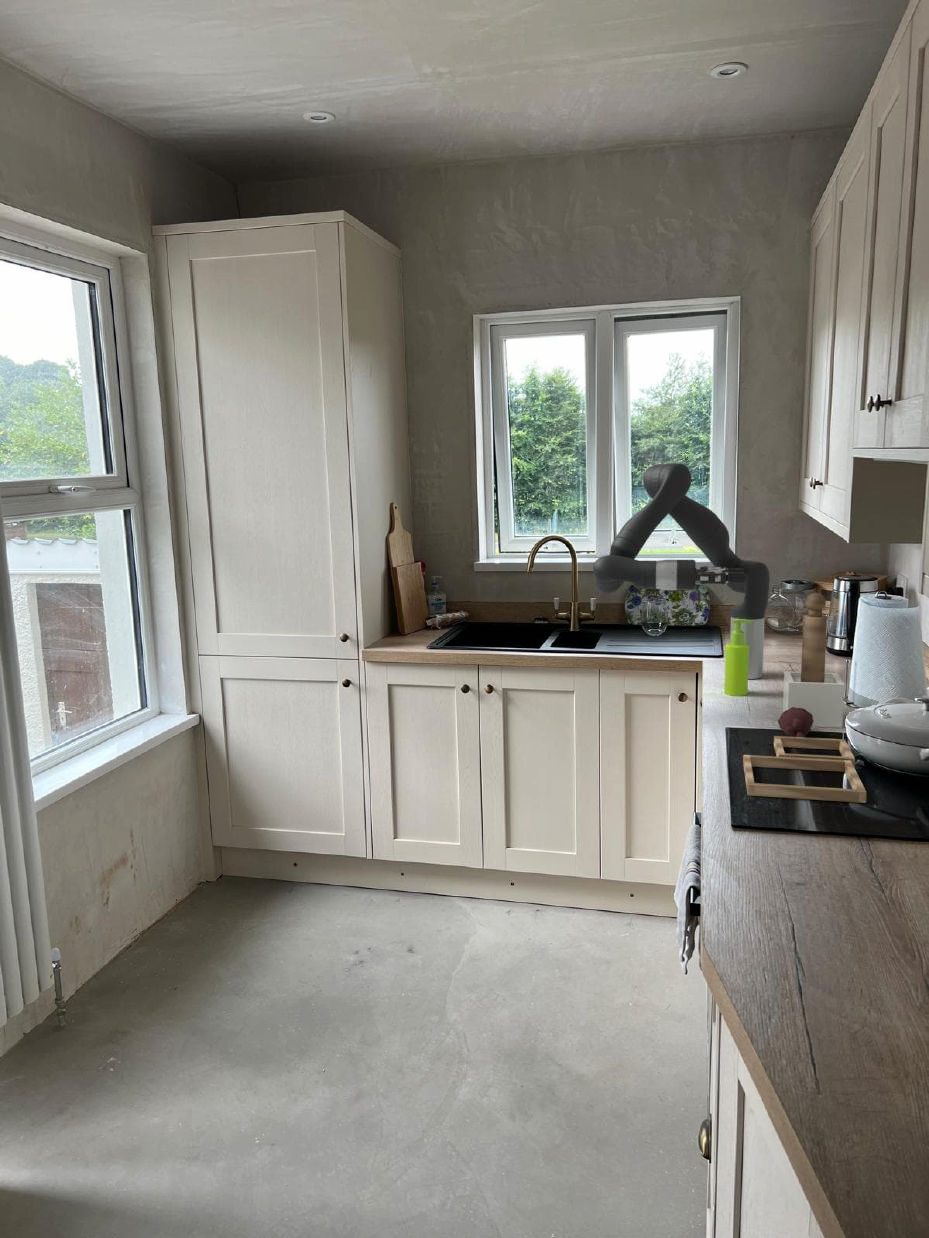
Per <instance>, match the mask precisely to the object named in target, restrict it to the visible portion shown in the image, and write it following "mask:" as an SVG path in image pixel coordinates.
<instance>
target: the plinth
mask: <svg viewBox="0 0 929 1238" xmlns="http://www.w3.org/2000/svg"><path fill="white" fill-rule="evenodd" d="M783 676H784V677H783V696H782V697H783V700H782V713H783V712H784V711H786V710H789V709H790V708H792V707H795V708H803V709H805V710H806V711H808V712H809V713H811V714H812V716H813V721H814V722H813V724H812V727H819V728H821V727H822V728H838V729H839V728H843V719H844V718H843V717H844V695H845V693H844V692H845V683H844V682H843V680H842V678H841V677H840V675H839V674H838V673H837V672H825V677H824V683H817V682H801V671H789V670H788V671H784V672H783Z"/></svg>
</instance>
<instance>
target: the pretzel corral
mask: <svg viewBox="0 0 929 1238" xmlns="http://www.w3.org/2000/svg"><path fill="white" fill-rule="evenodd" d="M742 761H743V762H742V764H743V771H744V772H743V773H744V779H745V786H746V792H747V796H755V797H767V798H768V797H771V798H785V799H797V800H798V799H799V800H818V801H832V802H833V801H834V802H846V803H847V802H849V803H859V804H860V803H861V804H862V803H863V804H865V803H867V791H866V788H865V787H864V784H863V783H862V780H861V779H860V777H859V774H858V772H857V771H856V769H855V768H854V766H853V764H852V762H851V761H849V760H831V759H812V758H794V757H777V756H773V755H771V756H770V755H754V754H743V760H742ZM757 767H758V768H771V769H789V770H790V769H791V770H807V771H827V772H839V773H840V772H842V773H843V772H844V774H845V776H846V778H847V781H848V782H849V784H850V786H851V789H850V788H841V787H840V788H838V787H822V786H806V785H791V784H790V785H788V784H775V783H773V784H772V783H759V782H755V780H754V772H753V768H757Z"/></svg>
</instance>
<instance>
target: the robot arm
mask: <svg viewBox="0 0 929 1238" xmlns="http://www.w3.org/2000/svg"><path fill="white" fill-rule="evenodd" d="M642 477H643V478H642V479H643V480H642V481H643V487H644V490H645V491H646V493H647V495H648V496H649V497H650V499H651V500H650V501H649V502H648V503H647V504H646V505H645V506H644V507H642V509H640V510H639V511H637V512H636V513H635V514H634V515H633V516H632V517H630V518H629V519H628V520H627V521H626V522H625V523H624V525H622V527H621V529H620V530H619V532H618V533H617V535H616V536H615V537H614V539H613V541H612V543H611V544H610V547H609V554H608V555H607V554H606V555H603V556H601V557H599V558H597V559H596V560H595V561H594V564H593V566H592V573H593V579H594V583H595V586H596V588H597V590H599V591H600V592H602V593H603V594H612V593H615V592H616V591H618V590H619V589H620V588H621V587H622V586H623V585H624V583H625V582H627V583H631V584H632V585H633V587H634V588H636V589H642V590H643V589H644V590H655V589H656V590H661V591H663V590H664V591H694V590H695V589H696V582H699V584H701V585H711V584H712V585H726V587H728V588H729V589H730V590H731V591H734V592H737V593H741V594H744V599H743V601H742V602H741V603H739V604H736V605H733V606H732V607H731V609H730V634H729V636H730V637H729V639H730V640H729V641H730V642H729V644H730V643H731V632H732V631H734V623H733V622H732V620H734V619H747V620H752V621H753V622H754V623H753V624H752V623H741V631H742V632H744V644H747V645H749V656H748V680H758V679H761V678H762V677H764V676H763V675H764V672H763V671H764V649H765V620H766V619H765V615H766V611H767V607H768V602H769V594H770V593H769V592H770V591H769V590H770V577H771V576H770V572H769V568H768V566H767V565H766V564H765V563H764V562H761V561H755V560H754V561H752V560H744V559H741V558H739V557H738V555H737V554H736V553H735V552H734V551H733V550H732V549H731V547H730V534H729V532H730V531H729V529H728V528H727V526H726V525H725V524H724V522H723V521H722V520H721V519H720V518H719V516H718V515H717V514H716V513H715V512H713V511H712V510H711V509H710V508H708V507H706V506H705V505H703V504H701V503H700V502H697V501H696V500H694V499H692V498H690V497H689V496H687V493H688V492H689V490H690V488H691V484H692V474H691V471H690V468H688V466H686V465H685V464H683V463H679V462H677V463H676V462H670V463H659V464H654V465H651V466H648V468H647V469H646V470H645V471H644V473H643V476H642ZM668 515H669V516H670V517H671V518H672V519H673V520H674V521H675V522H676V524H678V525H679V527H680V528H681V529H682V530H683V532H684V533H686V535H687V536H688V538H689V539H690V540H691V541H692V542H693V543H694V545H695V547H698V549H699V550H700V551H701V552H702V554H704V556H705V557H706V558H707V559H708V561H709V562H710V563H711V564H712V565H713V566H707V565H706V566H700V567H699V568H696V567H697V566H696V565H697V563H696V560H695V559H661V560H660V559H659V560H639V559H638V560H637V559H636V557H637V556H638V555H639V553H640V552H641V550H642V548H643V547H644V545H645V544H646V542H647V541H648V539H649V538H650V537H651V535H652V534H653V532H654V531H655V529H656V528H657V527H658V526H659V525H660V523H662V522H663V520H664V519H665V518H666V517H667V516H668Z"/></svg>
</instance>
